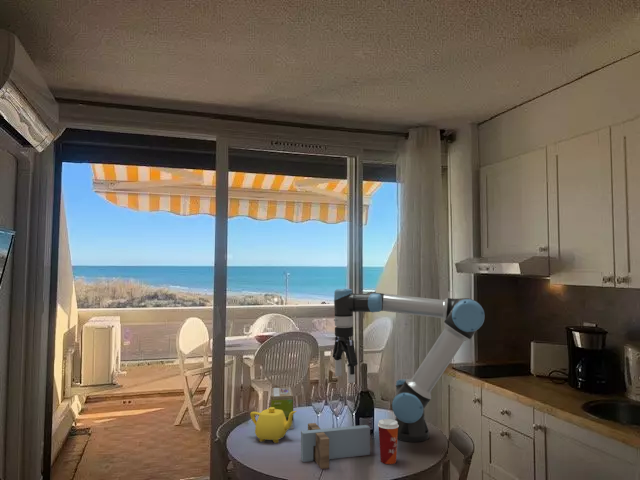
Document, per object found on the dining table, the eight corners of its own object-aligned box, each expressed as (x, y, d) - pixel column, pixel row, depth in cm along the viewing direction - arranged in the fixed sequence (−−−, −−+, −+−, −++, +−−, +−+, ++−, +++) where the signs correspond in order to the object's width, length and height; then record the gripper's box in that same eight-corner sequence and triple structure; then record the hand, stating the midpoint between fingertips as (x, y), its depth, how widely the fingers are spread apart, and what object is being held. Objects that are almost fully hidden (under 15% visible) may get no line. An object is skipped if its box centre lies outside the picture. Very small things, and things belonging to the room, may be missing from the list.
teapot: (292, 446, 184) (292, 414, 185) (244, 442, 189) (244, 410, 190) (300, 435, 198) (301, 405, 198) (255, 431, 202) (256, 401, 203)
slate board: (302, 462, 169) (303, 433, 170) (300, 458, 172) (301, 430, 173) (370, 454, 177) (370, 427, 177) (367, 451, 180) (367, 424, 180)
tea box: (270, 419, 218) (270, 387, 219) (292, 419, 219) (292, 386, 220) (270, 430, 203) (270, 395, 204) (293, 429, 205) (294, 394, 206)
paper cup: (396, 466, 166) (396, 426, 167) (375, 463, 168) (375, 423, 169) (401, 458, 173) (400, 419, 174) (380, 455, 176) (380, 417, 177)
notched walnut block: (307, 450, 181) (307, 423, 181) (315, 449, 182) (315, 422, 182) (320, 469, 164) (321, 439, 164) (329, 468, 164) (329, 438, 165)
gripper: (324, 324, 204) (325, 374, 202) (347, 330, 181) (348, 386, 179) (340, 323, 207) (341, 372, 205) (365, 329, 183) (366, 384, 182)
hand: (344, 379), depth 192 cm, fingers open, 13 cm apart
